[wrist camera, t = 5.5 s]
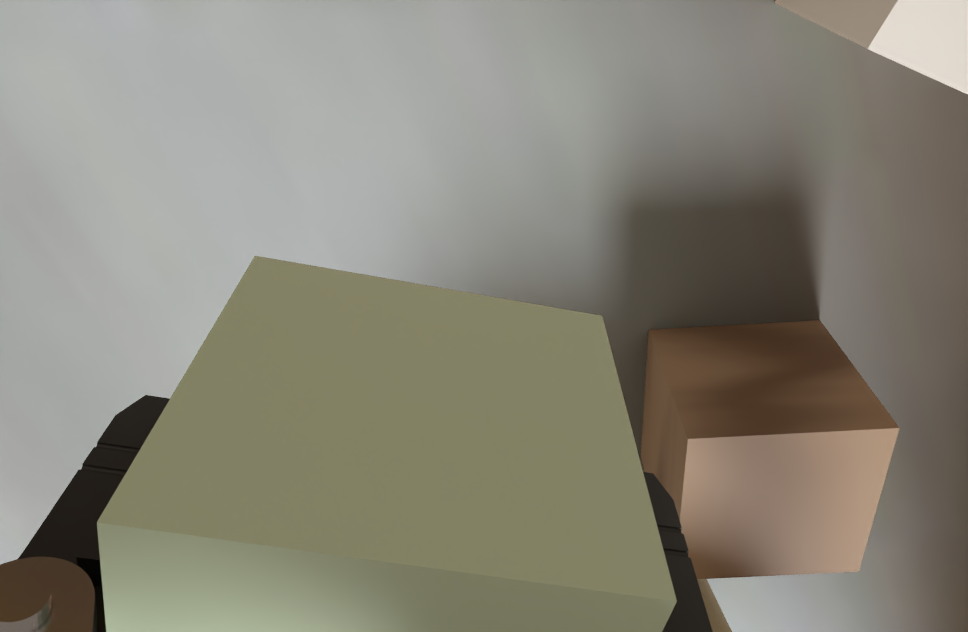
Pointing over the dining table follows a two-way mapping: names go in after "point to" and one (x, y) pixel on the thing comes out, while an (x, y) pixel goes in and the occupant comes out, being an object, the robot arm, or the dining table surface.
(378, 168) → the dining table surface
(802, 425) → the walnut cube
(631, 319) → the dining table surface
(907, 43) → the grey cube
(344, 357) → the sage cube
